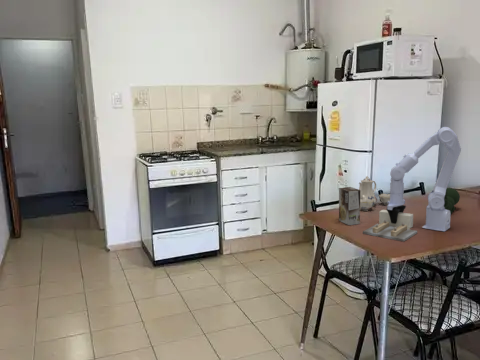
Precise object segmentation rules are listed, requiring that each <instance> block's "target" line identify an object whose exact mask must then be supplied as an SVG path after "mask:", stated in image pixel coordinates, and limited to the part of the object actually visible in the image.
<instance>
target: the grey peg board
mask: <svg viewBox="0 0 480 360" xmlns="http://www.w3.org/2000/svg"><path fill="white" fill-rule="evenodd" d="M362 234H363V235H367V236H368V235H369V236H373V237H378V238H383V239H389V240H394V241H398V242H403V243H404V242H405V241H407V240H409V239H410V238H412V237H413V236H415V235H417V234H418V230H415V229H411V228H410V229H407V225H404V222H402V225H401V226H399V227H395V226H390V225H389V222H386V219H384V222H383V223H381V224H379V223H375V224H374V225H372V226H370V227H369V228H367V229H365V230H362Z"/></svg>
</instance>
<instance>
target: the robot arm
mask: <svg viewBox="0 0 480 360" xmlns="http://www.w3.org/2000/svg"><path fill="white" fill-rule="evenodd" d="M441 144H443V145H444V146H445V148H446V150H447V152H446V155H445V157H444V160H443V162H442V166H441V169H440V171H439V174H438V176H437V179H436V181H435V184H434V186H433V188H432V190H431V191H430V192H429V194H428V195H427V202H428V205H426V207H425V208H426V210H425V213H426V214H425V224H424V225H423V226H421V227H422V228H423V229H428V230H432V231H440V232H446V231H448V230H449V229H450V228H451V215H452V214H451V213H450V210H446V209H445V207H444V197H445V193H446V189H447V188H448V185H449V183H450V181H451V178H452V175H453V172H454V169H455V167H456V165H457V162H458V159H459V156H460V155H461V151H462V148H461V145H460V142H459V139H458V135H457V134H456V132H455V131H454V130H453V129H452V128H450V127H448V126H442V127H440V128H439V129H438V130H437V131H435V132H434V133H433V134H432V135H430V136H429V137H427V139H426V140H425V141H424V142H423V143H421V145H420V146H419V147H418V148H417V149H416V150H415V151H414V152H412V153H407V154H404V155H403V156H402V157H403V158H402V159H401V160H399V162H396V163H395V166H393V167H392V168H391V170H390V183H389V186H390V187H389V194H390V201H388V202H387V203H389V205H386V210H387V211H388V213H389V216H390V220H391V223H394V224H396V222H397V217H398V213H399V212H402V213H404V211H405V209H406V207H407V206H406V205H405V204H406V199H404V191H405V190H404V188H405V183H404V178H405V174H406V173H407V174H408V173H409V172H410V171H411V170H412V169H413V168H414V167H416V165H418V163H419V158H421V157H422V156H423V155H424V154H425V153H426V152H427V151H428V150H430V149H431V148H433V147H434V146H438V145H441Z"/></svg>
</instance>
